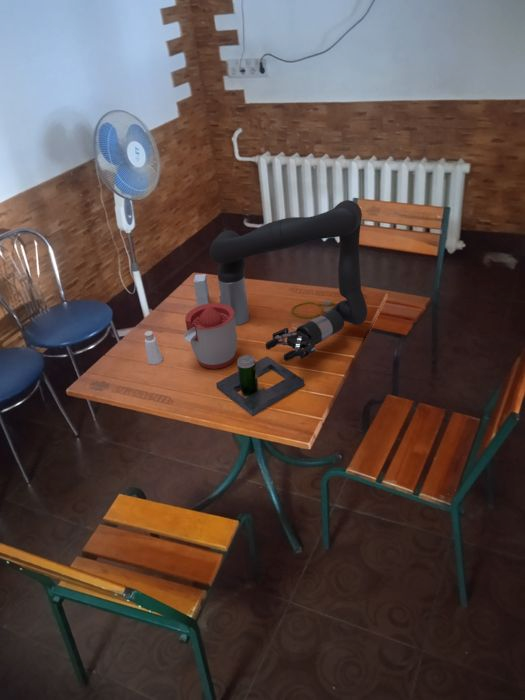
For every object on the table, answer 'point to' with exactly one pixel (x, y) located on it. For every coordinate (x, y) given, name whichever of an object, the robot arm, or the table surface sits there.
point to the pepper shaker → (152, 349)
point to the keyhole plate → (262, 396)
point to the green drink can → (247, 375)
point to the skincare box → (201, 289)
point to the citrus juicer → (212, 334)
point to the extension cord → (316, 304)
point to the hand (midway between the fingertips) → (275, 352)
